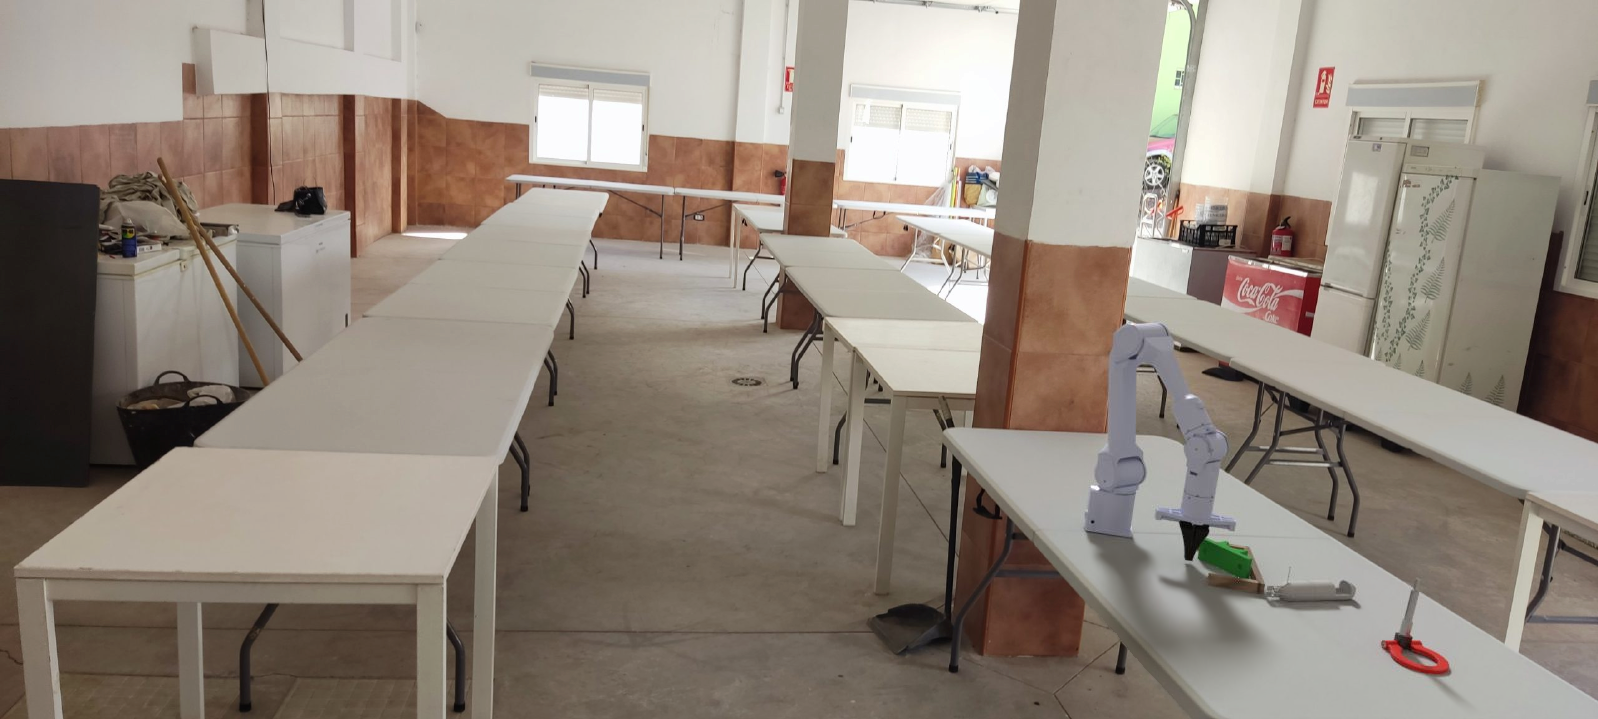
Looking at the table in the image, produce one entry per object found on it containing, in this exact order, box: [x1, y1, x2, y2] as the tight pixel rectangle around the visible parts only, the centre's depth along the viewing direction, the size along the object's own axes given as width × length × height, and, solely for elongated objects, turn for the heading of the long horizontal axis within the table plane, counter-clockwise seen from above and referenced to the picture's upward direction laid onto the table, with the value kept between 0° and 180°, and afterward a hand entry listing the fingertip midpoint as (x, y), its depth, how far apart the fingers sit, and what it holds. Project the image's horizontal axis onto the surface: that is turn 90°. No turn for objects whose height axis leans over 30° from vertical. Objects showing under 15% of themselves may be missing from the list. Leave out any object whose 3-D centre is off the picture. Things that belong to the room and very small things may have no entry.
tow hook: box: [1380, 577, 1450, 675], centre depth 172 cm, size 8×13×9 cm
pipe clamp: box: [1197, 537, 1252, 579], centre depth 206 cm, size 11×4×5 cm, turn 29°
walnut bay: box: [1197, 543, 1266, 595], centre depth 205 cm, size 10×19×2 cm, turn 166°
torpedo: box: [1264, 566, 1357, 602], centre depth 194 cm, size 18×5×7 cm, turn 102°
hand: (1188, 558), depth 207 cm, fingers closed
